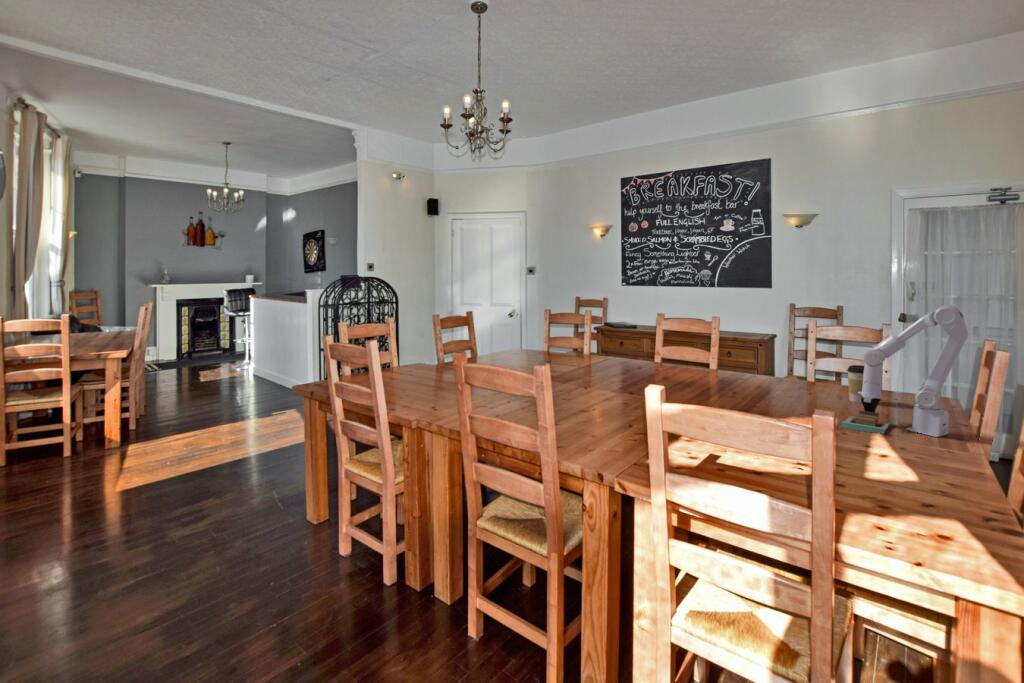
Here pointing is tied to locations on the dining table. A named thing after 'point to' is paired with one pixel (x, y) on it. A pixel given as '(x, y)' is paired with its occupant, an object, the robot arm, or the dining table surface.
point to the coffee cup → (855, 382)
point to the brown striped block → (867, 418)
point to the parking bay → (864, 426)
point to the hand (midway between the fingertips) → (869, 417)
